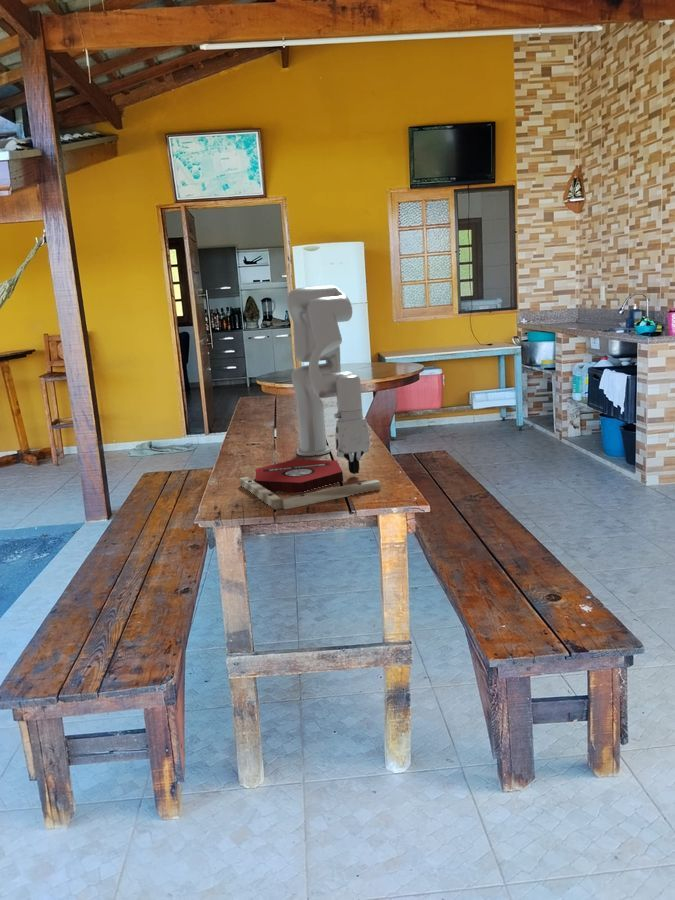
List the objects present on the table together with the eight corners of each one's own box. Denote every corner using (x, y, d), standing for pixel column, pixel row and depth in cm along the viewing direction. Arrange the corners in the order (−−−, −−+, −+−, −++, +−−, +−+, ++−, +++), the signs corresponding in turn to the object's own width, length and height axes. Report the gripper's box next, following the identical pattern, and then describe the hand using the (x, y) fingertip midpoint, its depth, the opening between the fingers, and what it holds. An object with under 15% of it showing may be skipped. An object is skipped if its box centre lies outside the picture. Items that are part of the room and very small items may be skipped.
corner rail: (240, 486, 229) (239, 477, 228) (333, 468, 242) (333, 460, 241) (277, 511, 201) (276, 501, 200) (380, 489, 214) (379, 480, 213)
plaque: (255, 473, 244) (257, 498, 215) (254, 463, 244) (256, 487, 215) (334, 465, 247) (347, 489, 218) (334, 455, 246) (346, 477, 217)
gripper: (333, 420, 219) (337, 479, 223) (377, 413, 225) (381, 471, 229) (323, 417, 226) (327, 474, 230) (366, 410, 232) (370, 466, 236)
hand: (354, 472), depth 229 cm, fingers closed
